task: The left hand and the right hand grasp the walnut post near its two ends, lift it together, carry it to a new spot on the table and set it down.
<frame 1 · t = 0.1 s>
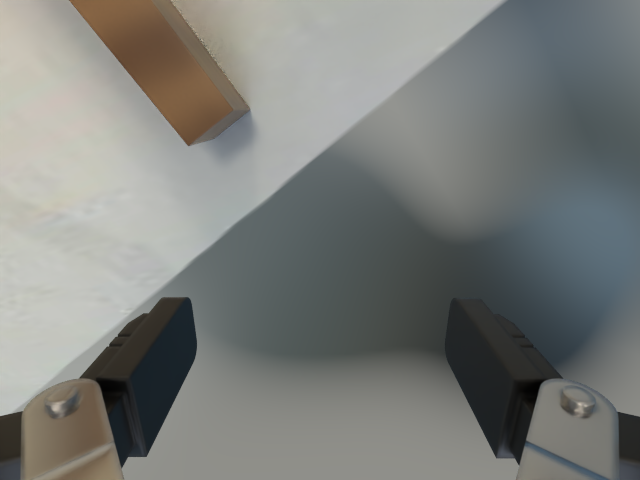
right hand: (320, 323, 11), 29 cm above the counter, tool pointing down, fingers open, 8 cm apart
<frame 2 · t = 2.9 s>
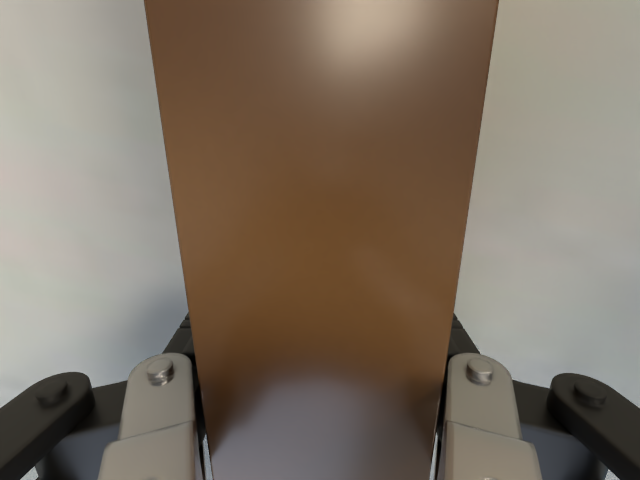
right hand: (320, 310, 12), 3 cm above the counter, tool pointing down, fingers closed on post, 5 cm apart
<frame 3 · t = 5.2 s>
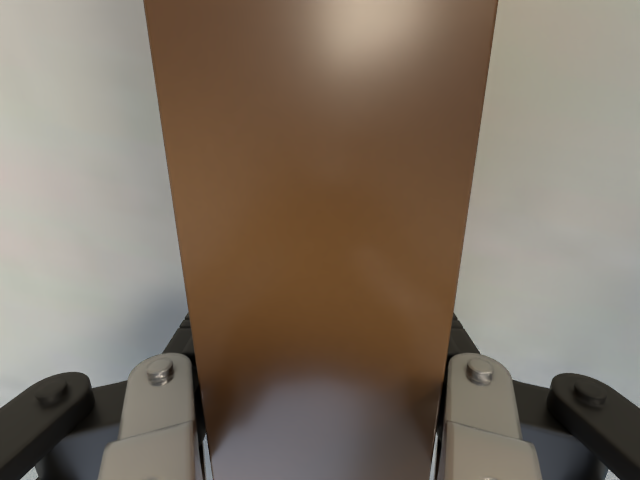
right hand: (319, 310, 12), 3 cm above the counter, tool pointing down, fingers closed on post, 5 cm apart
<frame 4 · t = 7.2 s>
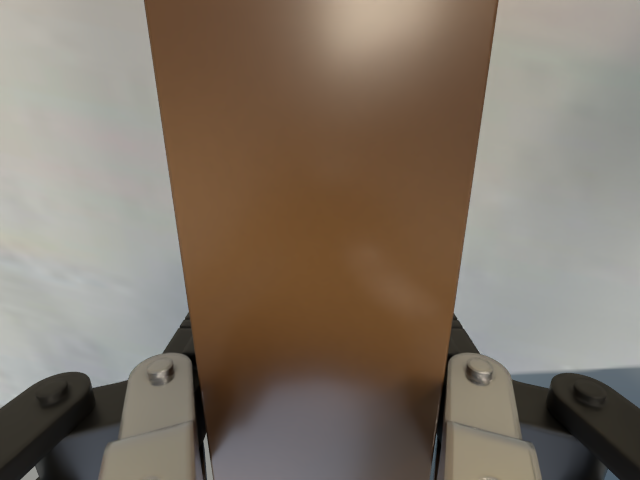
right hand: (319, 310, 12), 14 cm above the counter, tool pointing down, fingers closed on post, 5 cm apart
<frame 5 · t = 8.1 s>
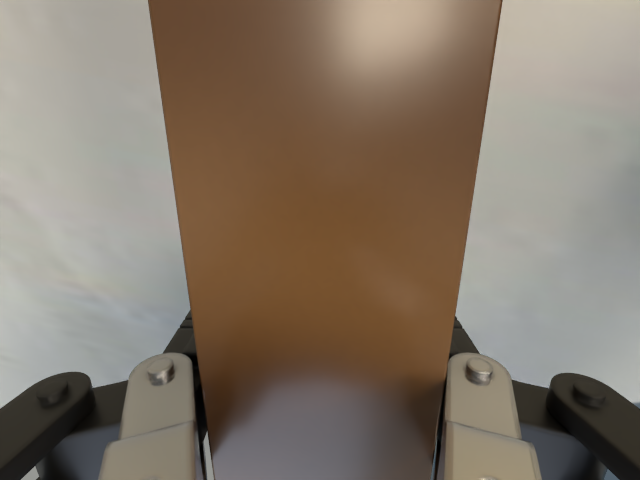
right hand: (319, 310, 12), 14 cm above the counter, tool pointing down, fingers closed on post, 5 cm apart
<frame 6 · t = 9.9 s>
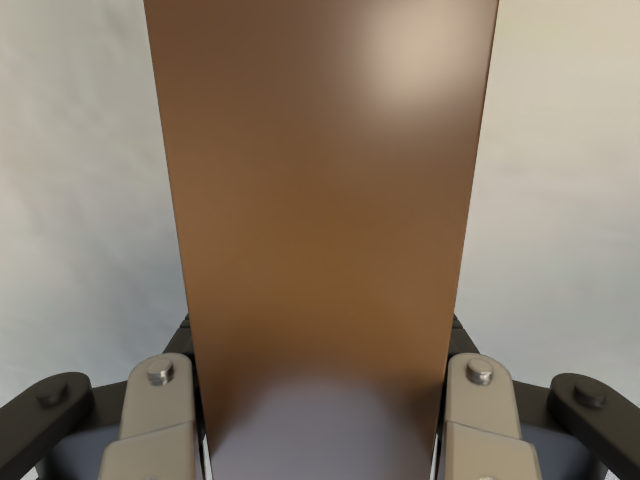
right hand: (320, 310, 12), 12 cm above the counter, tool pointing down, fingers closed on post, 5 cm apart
when the left hand's fingers open (4 cm above the counter, at t = 11.3 s): post stays where it is, on the counter.
when the right hand's fingers open (4 cm above the counter, at t = 11.3 s): post stays where it is, on the counter.
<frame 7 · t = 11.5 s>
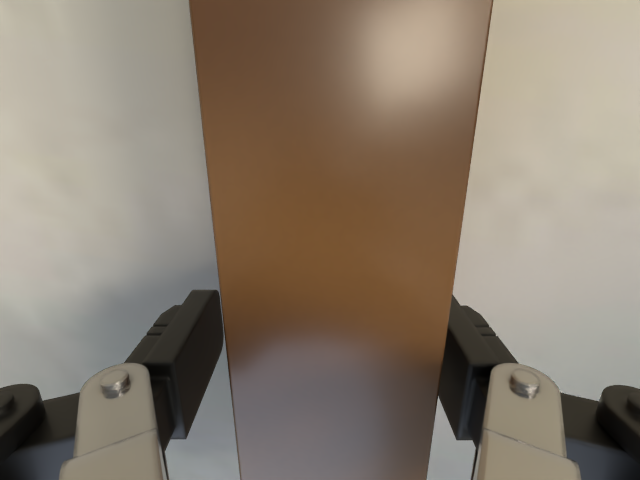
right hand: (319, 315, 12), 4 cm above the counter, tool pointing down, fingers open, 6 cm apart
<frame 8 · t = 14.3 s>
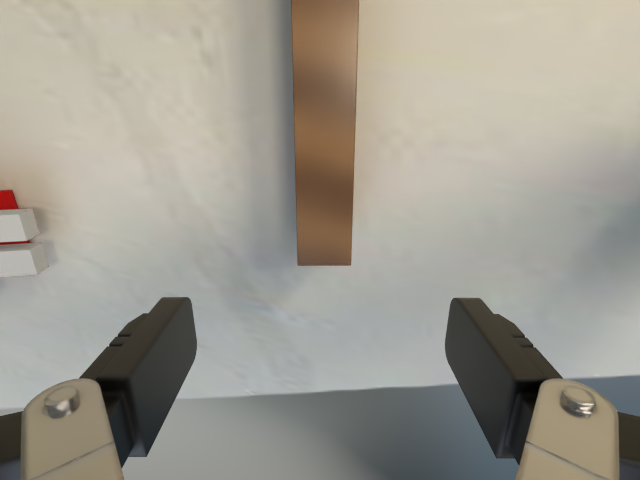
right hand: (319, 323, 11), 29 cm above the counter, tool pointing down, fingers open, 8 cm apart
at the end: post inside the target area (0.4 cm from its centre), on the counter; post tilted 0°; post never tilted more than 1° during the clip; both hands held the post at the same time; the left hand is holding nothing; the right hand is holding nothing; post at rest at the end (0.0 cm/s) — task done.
